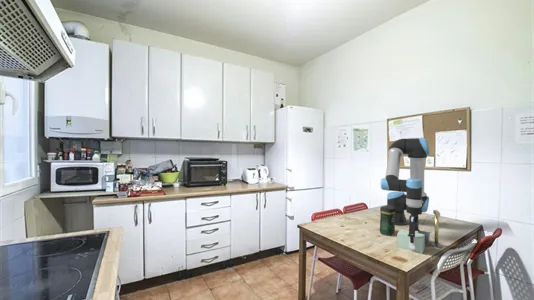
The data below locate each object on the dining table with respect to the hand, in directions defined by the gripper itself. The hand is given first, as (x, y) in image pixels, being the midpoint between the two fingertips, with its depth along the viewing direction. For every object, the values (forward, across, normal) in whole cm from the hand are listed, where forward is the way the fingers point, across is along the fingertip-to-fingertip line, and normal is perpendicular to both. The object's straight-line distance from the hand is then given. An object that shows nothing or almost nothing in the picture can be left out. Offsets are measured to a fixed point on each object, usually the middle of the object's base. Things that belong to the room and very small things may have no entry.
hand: (413, 245), depth 129 cm
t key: (+1, +14, -9) cm, 17 cm away
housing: (+2, +13, -4) cm, 14 cm away
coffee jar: (+2, +16, +17) cm, 23 cm away
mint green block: (+2, 0, +1) cm, 3 cm away
